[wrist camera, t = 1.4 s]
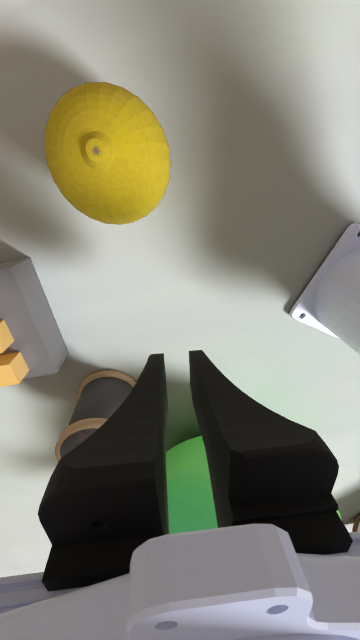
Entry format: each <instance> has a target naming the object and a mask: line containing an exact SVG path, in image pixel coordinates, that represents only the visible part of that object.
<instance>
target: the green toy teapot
mask: <svg viewBox="0 0 360 640" xmlns="http://www.w3.org/2000/svg"><path fill="white" fill-rule="evenodd" d="M166 474H167V495H168V515H169V534H174V533H182V532H190V531H198V530H206V529H214V528H218V525H217V519H216V512H215V506H214V499H213V493H212V487H211V480H210V474H209V468H208V462H207V456H206V451H205V447H204V442H203V439H202V435H201V436H197V437H194V438H191V439H188V440H186V441H184V442H182V443H180V444H178V445H176V446H174V447H173V448H171V449H170V450H168V451H167V452H166ZM337 513H338V515H339V517H340V518H341V516H340V514H339V511H337ZM341 520H342V519H341Z"/></svg>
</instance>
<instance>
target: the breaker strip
mask: <svg viewBox="0 0 360 640" xmlns="http://www.w3.org/2000/svg"><path fill="white" fill-rule="evenodd" d="M68 354H69V353H68V350H67V348H66V345H65V343H64V340H63V338H62V335H61V333H60V330H59V328H58V325H57V323H56V320H55V318H54V315H53V313H52V310H51V308H50V305H49V303H48V300H47V298H46V296H45V293H44V291H43V288H42V286H41V283H40V281H39V278H38V276H37V273H36V271H35V268H34V266H33V263H32V261H31V258H25V259H19V260H12V261H6V262H0V387H2V386H8V385H14V384H20V382H21V381H22V379H28V378H34V377H40V376H46V375H52V374H57V373H58V372H59V370H60V368H61V366H62V364H63V363H64V361H65V359H66V357H67V355H68Z"/></svg>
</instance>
